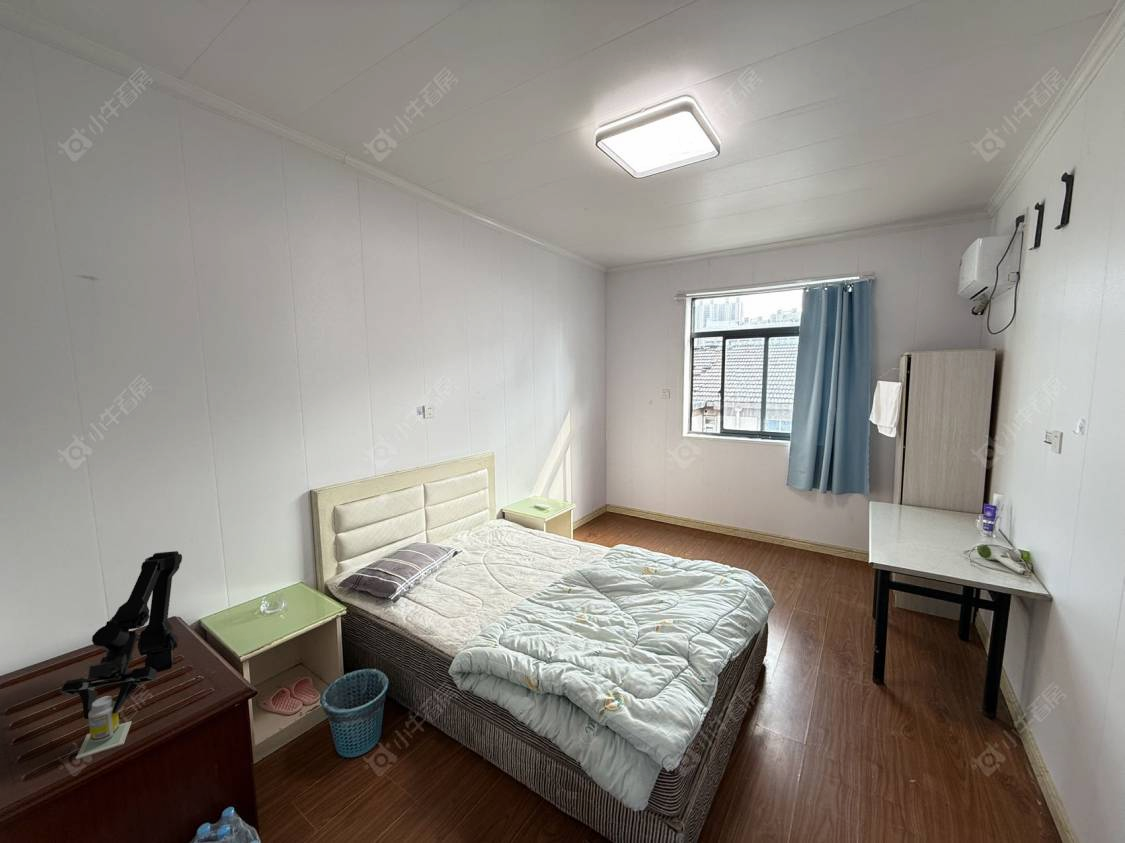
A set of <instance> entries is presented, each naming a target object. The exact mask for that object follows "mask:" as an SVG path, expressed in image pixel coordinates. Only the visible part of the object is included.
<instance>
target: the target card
mask: <svg viewBox="0 0 1125 843" xmlns="http://www.w3.org/2000/svg"><path fill="white" fill-rule="evenodd" d="M131 724H132V720H130V721H126V722H123V723H119V729H118V731H117V732H116V733H115V734H114V735H112V736H111V737H109V738H107V739H105V740H102V741H92V740H91V736H90V733H87V734H86V736H85V738H84V740H83V743H82V744H81V746H80V749H79V751H78V753H77V755H76V757H75V760H79V759H83V758H85V757H89V756H92V755H95V754H98V753H101V752H104V751H107V750H111V749H113V748H117V747H119V746H123V745H124V744H125V742H126V738H127V736H128V734H129V732H130V731H129V730H130V728H131Z"/></svg>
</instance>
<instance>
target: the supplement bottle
mask: <svg viewBox="0 0 1125 843" xmlns="http://www.w3.org/2000/svg"><path fill="white" fill-rule="evenodd" d="M115 703H116V700H114V699H113V696H111V695H106V696H102V697H99V698H96V699H95V701H94V702H93V703H92V709H91V710H90V711H89V713H88V727H89V734H90V736H91V740H92V741H102V740H105V739H107V738H109V737H111V736H112V735H114V734H115V733H116V732H117V731H118V729H119V725H120V721H119V720H120V719H119V710H118V711H117V713H113V709H114V706H115Z"/></svg>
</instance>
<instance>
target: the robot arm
mask: <svg viewBox="0 0 1125 843" xmlns="http://www.w3.org/2000/svg"><path fill="white" fill-rule="evenodd" d="M182 561H183V555H182V553H180V552H179V551H178V550H174V551H164V552H163V551H161V552H155V553H153V554H152V556H149V557H147V558H145V559H144V561H143V562H142V564H141V568H140V569H141V571H140V573H139V575H138V576H137V579H136V581H135V584H134V585H133V589H132V591H131V592H130V595H129V597H128V599H127V601H126V602H124V603H123V604H121V605H120V606H119V607H118V609H117V611H116V613H115V614H114V615H113V616H112V617H111V618H110V620H108V621H106V623H105V625H104V626H102V627H100V628H98V629H97V631H95V633H94V634H93V635H92V638H91V642H92V644H93V645H94V646H96V647H98V648H101V649H103V650H105V651H106V653H105V656H103V657H102V658H101V660H100V662H99V663H96V664H92V665H90V666H89V669H88V676H87V678H84V677H83V678H76V679H69V680H66V682H64V683H63V685H61V688H60V690H59V694H65V695H68V696H74V695H78V696H79V697H80V699H81V702H82V710H83V711H82V712H83V719H84V720H89V718H88V713H89V711H90V710H91V709H92V703H93V702H94V701H95V700H97V697H98V693H99V692H98V691H96V690H95V688H97V687H103V686H107V685H114V684H119V692H118V694H117V698H116V700H115V702H116V703H115V706H114V709H113V713H117V711H118V712H119V710H120V709H121V707H122V706H123V705H124V703H125V702H126V701H127V699H128V698H129V697H130V696H131V694H132V693H133V692H134V691H135V690H136V689H137V687H139V686H142V684H143V683H146V682H151V681H152V682H153V681H154V680H156V678H157V674H158V673H157V672H160V671H164V670H167V669H172V667H173V664H174V662H175V656H174V649H176V648H178V646H179V645H178V644H179V643H178V642H179V636H177V635H176V634H175V633H173V631H174V630H173V626H172V624H170V621H168V620H169V617H168V616H169V610H170V601H171V590H172V582H173V576H175V574H176V573H177V572H178V571H179V569H180V566H181V563H182ZM150 597H151V603H150V609H149V606H148V603H149V600H150ZM147 622H148V624H147V625H146V626H145V624H146V623H147ZM144 626H145V628H144V629H142V630H141V631H140V634H138V633H137V631H136V630H135V629H140V628H141V627H144ZM137 640H138V642H137ZM136 643H137V650H138V651H139V652H138V653H139V655H140V656H145V658H144V666H145V667H141V668H135V669H134V668H133V670H132V672H131V673H129V672H128V671H129V666H130V663H132V662H133V659H134V657H132V656H133V652H134V649H135V645H136Z"/></svg>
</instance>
